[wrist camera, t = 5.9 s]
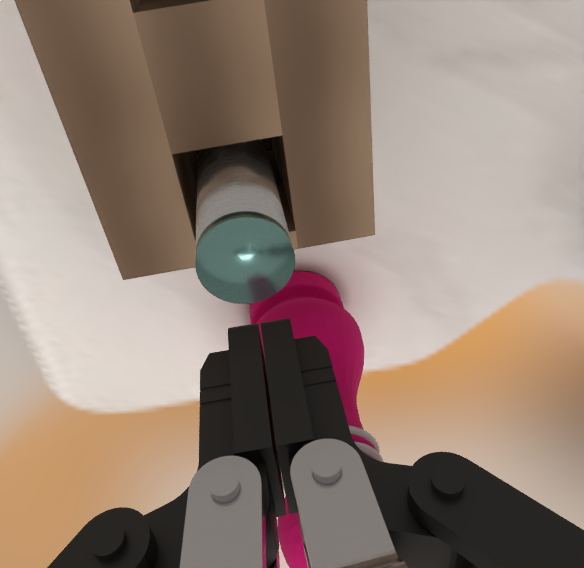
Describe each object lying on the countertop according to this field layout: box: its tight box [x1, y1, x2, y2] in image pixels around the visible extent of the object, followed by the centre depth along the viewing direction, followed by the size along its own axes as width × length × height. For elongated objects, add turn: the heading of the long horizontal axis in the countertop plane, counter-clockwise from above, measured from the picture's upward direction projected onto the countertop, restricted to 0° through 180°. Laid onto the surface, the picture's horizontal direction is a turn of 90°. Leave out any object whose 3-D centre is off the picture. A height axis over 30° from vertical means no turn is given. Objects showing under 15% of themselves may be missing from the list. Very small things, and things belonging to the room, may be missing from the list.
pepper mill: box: [250, 271, 383, 568], centre depth 28 cm, size 7×7×20 cm
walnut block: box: [15, 0, 375, 280], centre depth 22 cm, size 11×15×9 cm
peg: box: [195, 139, 295, 304], centre depth 20 cm, size 3×3×8 cm
